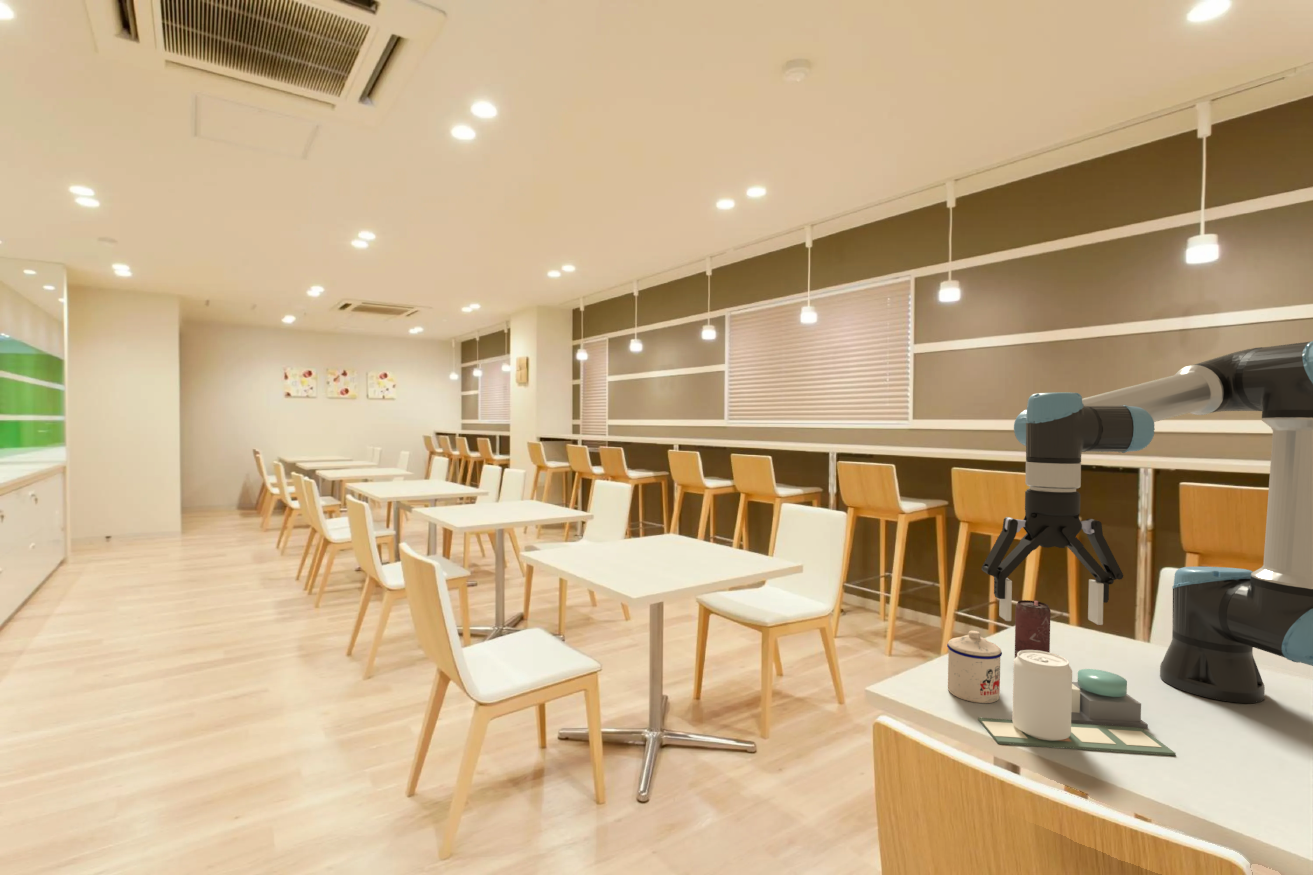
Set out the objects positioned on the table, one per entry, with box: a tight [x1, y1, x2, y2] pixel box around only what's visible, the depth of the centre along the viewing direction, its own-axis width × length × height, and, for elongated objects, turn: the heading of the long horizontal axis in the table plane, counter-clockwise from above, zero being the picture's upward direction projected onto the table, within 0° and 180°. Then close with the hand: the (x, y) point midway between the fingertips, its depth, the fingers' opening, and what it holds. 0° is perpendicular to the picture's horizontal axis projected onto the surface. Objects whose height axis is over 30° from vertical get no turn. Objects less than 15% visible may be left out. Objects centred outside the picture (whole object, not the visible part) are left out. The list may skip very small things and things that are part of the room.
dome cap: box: [1077, 668, 1128, 697], centre depth 110 cm, size 7×7×5 cm
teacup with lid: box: [946, 630, 1003, 704], centre depth 118 cm, size 12×9×12 cm
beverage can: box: [1011, 650, 1073, 741], centre depth 102 cm, size 8×8×12 cm
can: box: [1014, 599, 1052, 659], centre depth 128 cm, size 6×6×14 cm
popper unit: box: [1071, 681, 1149, 729], centre depth 110 cm, size 14×10×5 cm
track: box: [977, 717, 1177, 757], centre depth 101 cm, size 26×8×1 cm, turn 83°
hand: (1049, 620), depth 101 cm, fingers open, 13 cm apart
